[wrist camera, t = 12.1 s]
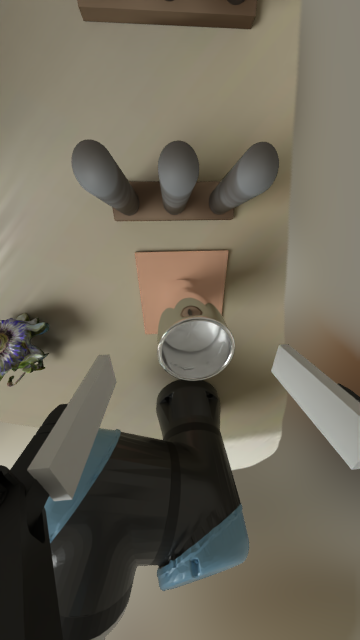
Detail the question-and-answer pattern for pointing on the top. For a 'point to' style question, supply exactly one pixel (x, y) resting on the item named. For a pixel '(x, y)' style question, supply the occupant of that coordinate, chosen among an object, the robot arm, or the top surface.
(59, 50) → the top surface
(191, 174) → the rack
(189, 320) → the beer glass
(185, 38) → the top surface
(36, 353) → the passion flower
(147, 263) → the tile pad
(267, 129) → the top surface
